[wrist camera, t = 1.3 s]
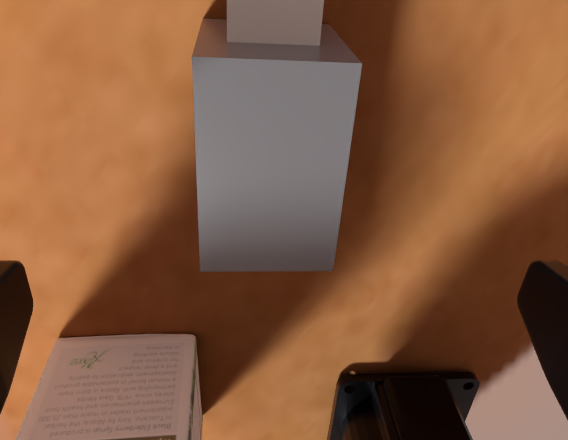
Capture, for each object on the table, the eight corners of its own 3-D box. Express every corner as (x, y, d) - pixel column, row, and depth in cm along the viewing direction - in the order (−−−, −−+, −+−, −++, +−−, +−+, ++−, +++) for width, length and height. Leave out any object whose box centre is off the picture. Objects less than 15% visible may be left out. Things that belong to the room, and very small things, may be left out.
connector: (311, 193, 17) (332, 271, 14) (207, 192, 17) (199, 271, 13) (336, -47, 13) (375, -31, 10) (201, -56, 13) (188, -42, 9)
